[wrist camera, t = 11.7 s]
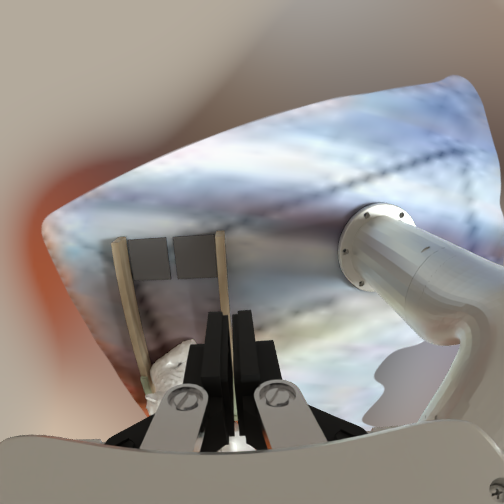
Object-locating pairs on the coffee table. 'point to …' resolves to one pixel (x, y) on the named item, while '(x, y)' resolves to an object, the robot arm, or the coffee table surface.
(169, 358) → the sitting furry creature
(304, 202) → the coffee table surface
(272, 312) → the coffee table surface
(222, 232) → the lane
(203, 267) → the mats
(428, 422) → the robot arm
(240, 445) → the figurine
